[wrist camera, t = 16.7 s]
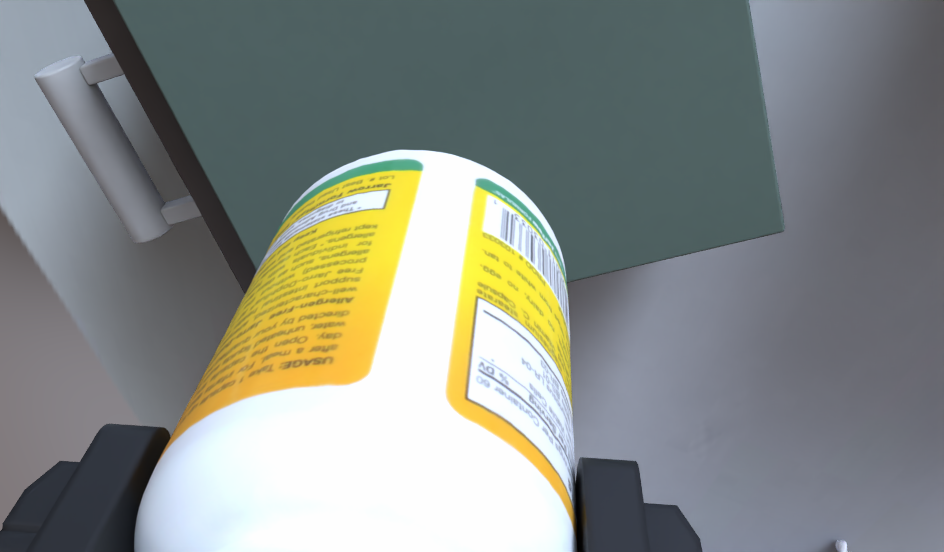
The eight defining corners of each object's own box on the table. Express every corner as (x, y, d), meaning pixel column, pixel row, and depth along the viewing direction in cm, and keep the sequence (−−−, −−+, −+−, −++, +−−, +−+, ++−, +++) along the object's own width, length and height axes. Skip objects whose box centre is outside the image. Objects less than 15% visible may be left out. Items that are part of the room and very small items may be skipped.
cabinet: (351, 200, 35) (295, 347, 27) (204, -130, 29) (75, -67, 21) (722, 100, 32) (786, 232, 24) (649, -296, 26) (702, -298, 17)
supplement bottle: (607, 186, 15) (690, 730, 7) (516, 412, 18) (502, 981, 10) (299, 102, 15) (11, 582, 7) (256, 347, 17) (18, 892, 9)
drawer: (215, 232, 35) (142, 351, 29) (60, -53, 29) (-76, 15, 23) (658, 112, 31) (691, 218, 25) (579, -243, 26) (593, -227, 19)
